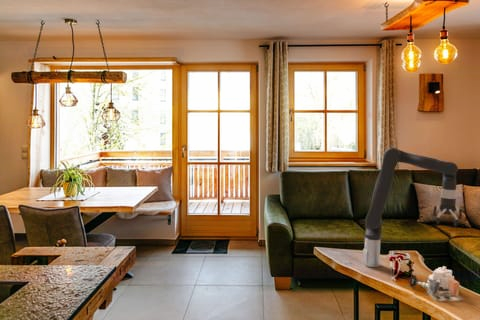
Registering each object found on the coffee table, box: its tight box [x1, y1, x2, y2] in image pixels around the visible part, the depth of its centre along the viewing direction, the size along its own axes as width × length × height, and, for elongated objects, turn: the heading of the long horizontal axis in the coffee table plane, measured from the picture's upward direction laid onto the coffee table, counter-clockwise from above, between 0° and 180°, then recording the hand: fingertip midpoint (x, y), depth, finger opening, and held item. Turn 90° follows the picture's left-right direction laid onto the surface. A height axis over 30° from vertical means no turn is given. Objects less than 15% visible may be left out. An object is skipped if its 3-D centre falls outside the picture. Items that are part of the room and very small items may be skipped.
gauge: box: [428, 280, 465, 302], centre depth 186 cm, size 14×6×8 cm, turn 92°
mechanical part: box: [428, 265, 455, 291], centre depth 198 cm, size 11×12×12 cm
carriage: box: [447, 279, 461, 297], centre depth 187 cm, size 3×5×7 cm, turn 2°
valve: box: [408, 274, 431, 295], centre depth 195 cm, size 7×7×12 cm
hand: (446, 224), depth 211 cm, fingers open, 8 cm apart
